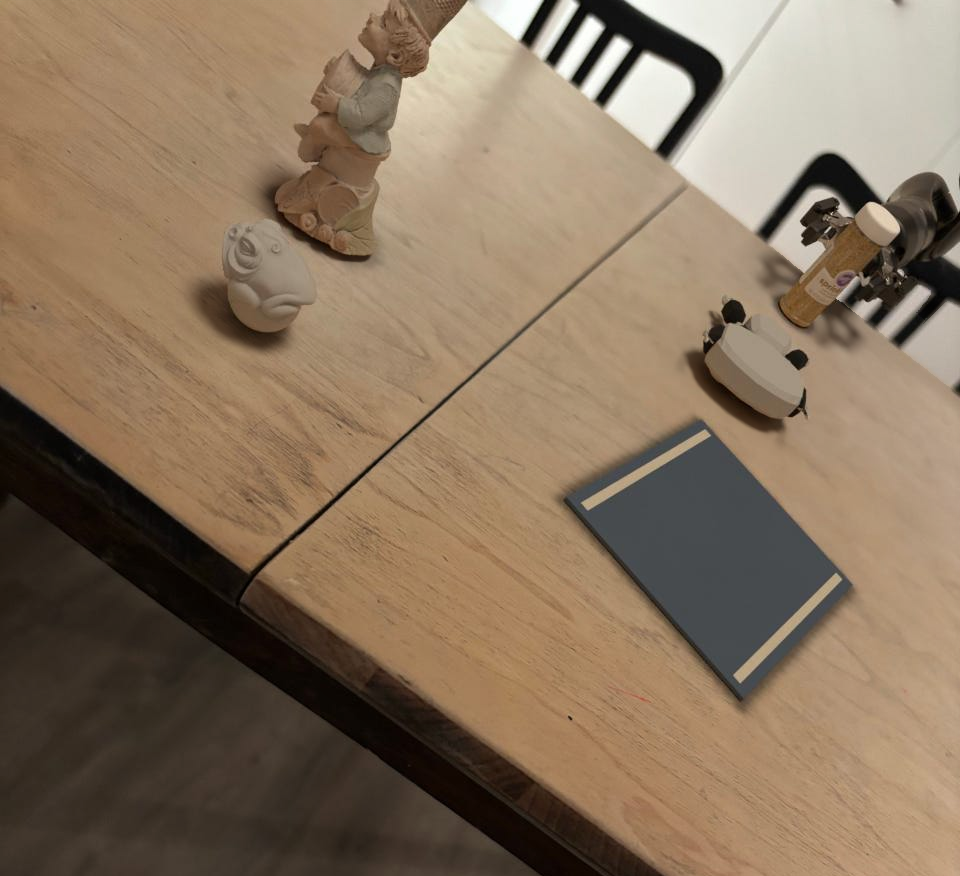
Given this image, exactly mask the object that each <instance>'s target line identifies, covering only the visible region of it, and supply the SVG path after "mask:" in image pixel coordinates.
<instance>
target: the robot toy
mask: <svg viewBox="0 0 960 876" xmlns="http://www.w3.org/2000/svg"><path fill="white" fill-rule="evenodd" d="M721 304H722V305H723V306H722V309H721V310H720V312H721V316H722V318H723V322H724V323H725V325H723V324H717V325H715V326H713V327H711V328H710V329H709V330H708V329H705V330H704V331H703V332H702V334H701V335H702V336H703V337H704V338H703V340H702V343H703V344H702V353H703V354H704V355H705V357H704V360H703V362H704V364H706V366H707V368H708V369H709V373H710V375H711V377H712V378H713V379H714V380H715V381H716V382H717V383H720V384H721V385H723V386H724V387H725V388H727V390H729V391H730V392H731V393H732V394H734V395H735V396H736V397H737V398H738V399H739V400H740V401H742V402H743V403H745V404H746V405H748V406H749V407H751V408H752V409H753V411H756V412H758V413H760V414H763V415H765V416H767V417H769V418H772V419H777V420H782V419H784V418H794V417H796V416H797V415H799V414H800V413H801V412H802V413H803V416H804V419H805V420H806V421H808V420H809V419H810V418H811V415H810V414H809V413H808V410H807V409H808V406H807V405H806V404H807V389H806V387H805V385H806V384H805V383H806V380H805V379H804V377H803V376H802V375H801V373H800V371H801V370H802V369H804V368H805V367H807V366H809V365H810V363H811V359H810V358H809V357H808V355H807V354H806V353H805V351H803V350H801V349H800V348H798V349H794V350H791V348H792V337H791V335H790V333H788V331H787V330H786V329H785V328H784V327H783V326H782V325H781V324H779V323H778V322H777V321H776V320H774V319H773V318H771V317H770V316H769V315H766V314H763V313H756V314H755V313H754V314H753V315H751V316H750V317H749V318H748V319H747V321H746V322H745V319H746V318H747V314H746V311H745V308H744V306H743V304H742V303H741V301H739V300H738V299H735V298H733V297H730V296H729V295H726V294H725V295H723V296H722V298H721ZM744 322H745V323H744ZM790 350H791V351H790Z"/></svg>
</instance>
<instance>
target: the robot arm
mask: <svg viewBox="0 0 960 876" xmlns="http://www.w3.org/2000/svg"><path fill="white" fill-rule="evenodd" d="M958 187H959V190H960V173H959V174H958ZM840 205H841V202H840V200H839V199H838V198H837V197H835V196H830V197H828V198H827V197H826V198H824V199H821V200H818V201H815V202H814V203H813V204H812V205H811V206H810V208H809V209H808V210H807V212H805V214H804V215H803V216H802V217H801V219H800V220H799V222H800V224H801V226H802V227H804V228H805V229H804V230H803V231H802V232H801V234H800V237H801V238H802V239H801V241H800V243H801V244H802V245H803V246H804V247H805V248H806V247H809V246H810V245H812V244H815V243H817V242H818V243H822V245H823V247H824V250H826V249H827V248H828V247H829V245H830V244H831V243H832V242H833V241H834V240H836V239H837V238H838V236H839V235H840V234H841V233H842V232H843V231H844V230H845V229H846V228H847V227H848V226H849V224H850V223H851V222H852V220H853V219H854V218H855V216H854V217H853V216H843V215H842V214H841V213H840V211H839V209H840V207H839V206H840ZM880 205H881V206H882V207H884V208H885V209H886V210H887V211H888V212H889V213H890V214H891V215H892V216H893V217H894V218H895V219H896V221H897V222H898V224H899V226H900V232H899V234H898V235H897V236H896V237H895V238H894V239H893V240H892V241H891V242H890V243H889V244H888V245H887V246H885V247H884V248H882V249H881V250H880V251H879V252H878V253H877V254H876V255H875V257H874V258H873V259H872V260H871V261H870V262H869V263H868V264H867V265H866V266H865V267H864V268H863V269H862V270H861V272H860V273H859V274H858V275H857V276H856V277H857V278H859V281H860V284H861V286H862V287H863V288H861V290H860V291H859V292H858V293H857V294H856V295H855V296H854V299H856V300H857V301H858V302H859V303H860V302H862V301H864V302H865V303H871V302H872V301H876V300H878V299H879V300H881V302H880V305H881V306H882V308H883V309H884V310H886V311H890V310H892V309H893V308H894V307H895V306H896V305H898V304H899V303H900V302H901V301H902V300H903V299H904V298H905V297H906V296H907V295H908V294H909V293H910V292H911V291H912V290H913V289H914V288H915V287H917V286H918V285H919V280H918V279H917V277H915V276H914V275H910V276H908V275H906V274H905V275H902V274H901V273H900V272H899V270H900V269H902V268H903V267H905V266H907V265H908V263H910V262H911V261H912V260H913V261H914V262H915V261H916V262H920V263H928V262H933V261H935V260H938V259H940V258H942V257H943V256H945V255H946V254H947V253H949V252H950V251H951V250H952V249H953V248H955V247H956V246H957V245H958V244H959V243H960V210H958V208H957V205H956V203H955V201H954V198H953V195H952V193H951V191H950V189H949V187H948V184H947V181H945V179H944V177H943V176H941V175H940V174H938V173H936V172H934V171H924V172H920V173H916V174H914V175H913V176H911V177H909V178H907V179H906V180H904V181H902V183H900V184H899V185H898V186H897V187H896V188H895V189H894V190H893V191H892V192H891V194H890V195H889V196H888V198H887V200H886V201H885V202H884V203H881V204H880Z"/></svg>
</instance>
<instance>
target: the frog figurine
mask: <svg viewBox="0 0 960 876" xmlns="http://www.w3.org/2000/svg"><path fill="white" fill-rule="evenodd" d="M221 250H222V251H221V262H222V271H223V277H224V278H226V279H227V280H228V281H227V298H228V299H227V300H228V303H229V305H230V308H231V310H232V312H233V313H234V315H235V316H236V318H237V319H238V320H239V321H240V322H241V323H242V324H243V325H244V326H246V327H247V328H250V329H251V330H254V331H256V332H261V333H275V332H279V331H281V330H283V329H285V328H287V327H289V326H290V325H291V324H292V323H293V322H294V321H295V320H296V318H297V317H298V315H299V313H300V311H301V308H302V306H311V305H313V304H315V303H316V299H317V294H318V293H317V284H316V281H315V278H314V277H313V275H312V273H311V271H310V269H309V267H308V265H307V263H306V261H305V260H304V258H303V256H302V254H301V252H300V251H299V250H298V247H296V246H295V245H294V244H293V243H292V242H291V241H290V239H288V237H287V236H286V234H285V233H283V231H282V228H281V225H280V224H279V223H278V222H276V221H274V219H271V218H262V219H260V220H257V221H256V222H254V223H251V222H250V221H240V222H231V223H229V224H228V225H227V226H226V228H225V229H224V232H223V239H222V249H221Z"/></svg>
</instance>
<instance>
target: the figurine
mask: <svg viewBox="0 0 960 876" xmlns="http://www.w3.org/2000/svg"><path fill="white" fill-rule="evenodd" d="M468 1H469V0H388V1H387V5H386V9H384V10H383V14H382V15H377V14H375V13H374V12H372V11H371V12H370V13H369V17H368V19H367V21H366V22H365V27H363V28H362V29H361V33H359V34H358V35H357V41H358V42H359V43H360V45H361V46H362V47H363V48H364V49H366V50H367V51H368V52H369V53H370V54H371V56H372V58H373V63H372V65H371V67H370V68H369V69H368V68H367V67H366V66H364V65H362V64H361V63H360V62H359V61H358V60H357V59H356V58H355V56H354V54H352V53H351V52H350V49H349V48H346V49H345V50H344V51H343V52H342V53H341V54H340V55H339V56H338V57H337V56H332V57H331V58H330V59H329V60H328V61H327V63H326V64H325V65H324V69H323V71H322V72H323V75H324V76H323V78H322V79H321V81H320V82H319V84H318V85H317V87H316V89H315V90H314V93H313V95H312V97H311V99H310V104H311V105H312V106H314V107H315V108H316V110H317V113H316V114H317V115H316V116H314V117H313V118H312V119H311V120H310V121H309V123H308V124H306V123H301V122H300V123H294V124H293V130H294V132H295V133H296V134H297V135H298V136H299V137H300V138H301V140H299V144H298V146H297V157H298V158H299V159H300V161H301V162H303V163H305V164H308V163H315V164H311V165H310V168H311V169H307V170H306V171H305V172H304V173H302V174H301V175H300V176H298V177H294V178H292V179H290V180H288V181H285V183H283V184H282V185H281V186H280V187H278V189H277V191H276V193H275V196H274V203H275V205H277V211H278V212H279V213H282V214H284V215H283V216H284V218H285V219H286V220H287V221H288V222H290V223H291V224H292V225H294V226H295V227H297V228H299V229H300V230H301V231H302V232H304V233H305V234H307V235H309V236H310V237H312V238H315V239H316V240H317V241H318V240H319V241H320V242H322V243H325V244H326V245H329V246H330V248H331V249H332V250H333V251H336V252H338V253H340V254H343V255H348V256H351V255H352V256H371V255H372V254H373V253H375V251H376V248H377V241H376V237H375V234H374V228H373V227H374V226H373V213H374V209H375V206H376V203H377V200H378V196H379V195H380V190H381V186H380V184H379V182H378V180H377V179H376V178H375V176H376V173H377V171H378V168H379V166H380V165H381V163H382V162H385V161H387V159H388V158H389V157H390V155H391V153H392V142H391V140H390V135H389V131H390V130H391V129H392V128H394V125H395V122H396V119H397V113H398V107H399V104H400V103H399V102H400V98H401V92H402V87H403V86H402V85H403V80H404V79H409V78H414V77H417V76H418V75H419V74H421V73H424V72H426V70H427V69H428V65H429V61H430V48H431V47H432V44H433V43H432V42H433V41H434V40H435V39H436V38H437V36H438V35H439V34H440V33H441V32H442V31H443V29H445V27H446V26H447V25H448V24H449V23H450V22H451V21H452V20H454V18H455V17H456V16H457V15H458V13H459V12H461V10H462V9H463V8H464V7H465V5H466V4H467V2H468Z"/></svg>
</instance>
